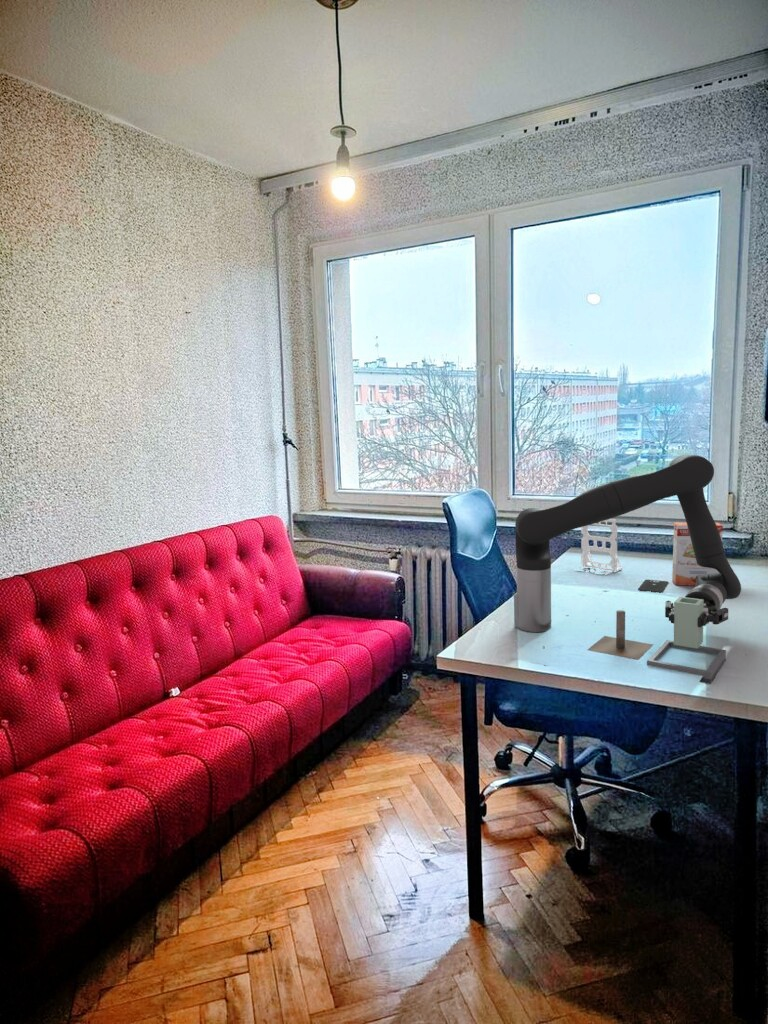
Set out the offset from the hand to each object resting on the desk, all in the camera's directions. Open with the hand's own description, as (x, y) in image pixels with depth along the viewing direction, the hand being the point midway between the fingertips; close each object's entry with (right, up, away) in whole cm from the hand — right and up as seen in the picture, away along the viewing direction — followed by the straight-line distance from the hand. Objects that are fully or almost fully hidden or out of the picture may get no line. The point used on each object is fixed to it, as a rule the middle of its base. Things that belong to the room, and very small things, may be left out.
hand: (685, 620), depth 139 cm
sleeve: (+2, -6, +3) cm, 7 cm away
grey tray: (+2, -11, +4) cm, 12 cm away
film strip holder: (+14, +2, +97) cm, 98 cm away
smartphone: (+24, -1, +71) cm, 75 cm away
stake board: (-10, -10, +13) cm, 19 cm away
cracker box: (+38, 0, +72) cm, 82 cm away
